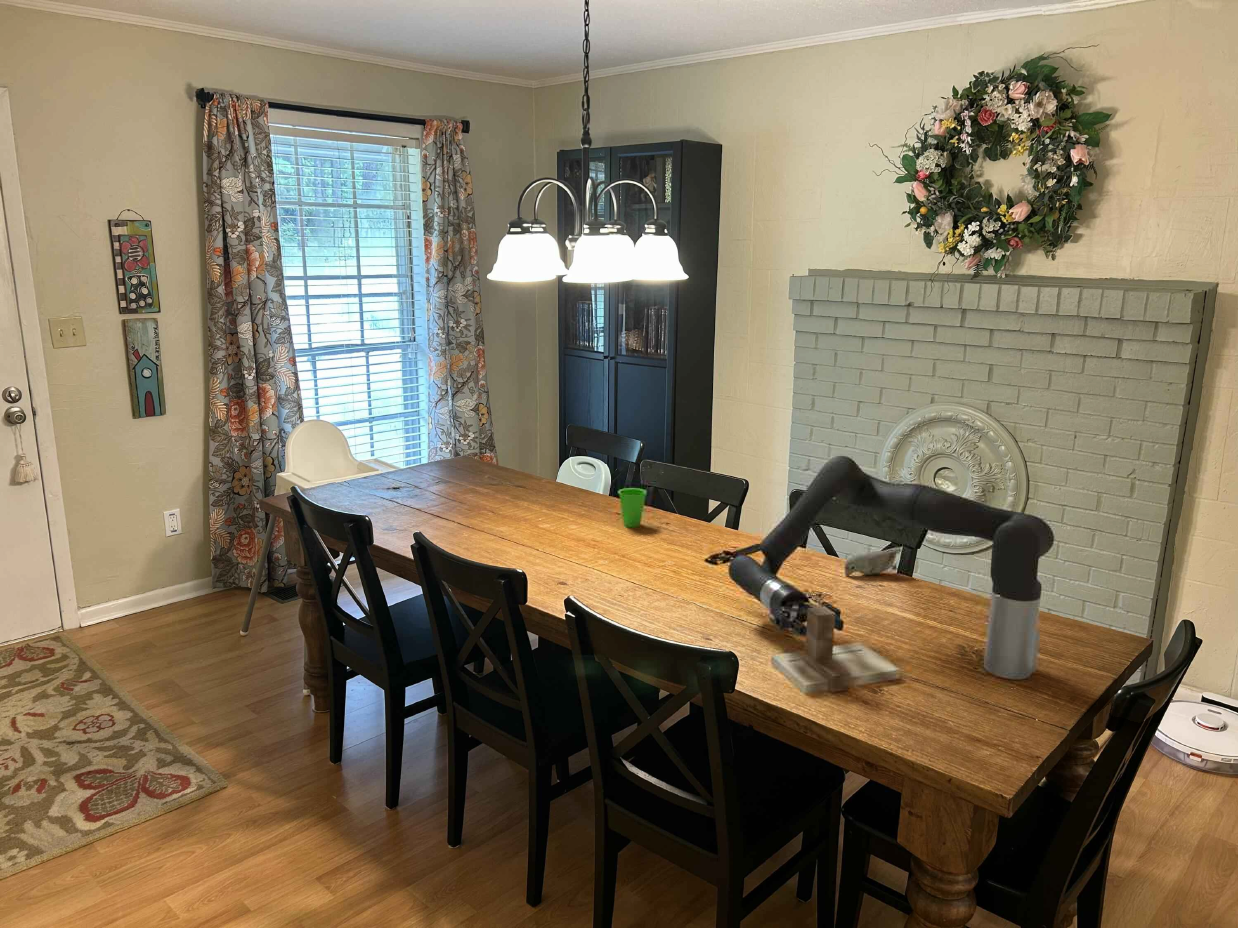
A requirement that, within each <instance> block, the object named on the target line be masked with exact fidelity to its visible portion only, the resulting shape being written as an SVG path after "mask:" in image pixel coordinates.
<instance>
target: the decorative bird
mask: <svg viewBox="0 0 1238 928" xmlns="http://www.w3.org/2000/svg"><path fill="white" fill-rule="evenodd" d="M902 551H903V550H902V547H901V546H899V547H893V548H889V549H888V548H887V549H885V550H877V551H870V552H866V553H863V554H856V555H854V554H853V555H851V556H850V557H849V558H847V560H846V562H845V564H844V575H845V577H849V576H850V575H852V574H854V573H856V572H857V573H860V574H862V575H865V576H868V575H875V574H881V573H883V572H886V571H888V570H890V569H891V570H892V571H894V572H896V573H897V574H901V572H902V567H903V565H900V567H899V569H898V568H897V564H898V562H896V563H895V561H896V558H897V554H900V553H901V552H902Z"/></svg>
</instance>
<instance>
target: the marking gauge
mask: <svg viewBox="0 0 1238 928" xmlns="http://www.w3.org/2000/svg"><path fill="white" fill-rule="evenodd" d="M834 625H835V613H834V612H833V611H831V610H830V609H828V608H827V607H825V606H822V607H814V608H808V612H807V622H806V627H807V631H806V636H805V643H804V645H805V646H804V648H805V649H804V650H801V651H802V659H803V660H804V661H806V662H807V663H808V664H809V665H811V666H812V667H813V668H814V669H815V670H817V671H818V672H819V673H820V674H822V675H823V676H824V677H825V678H827V679H828V680H829V683H828V689H829V690H828V691H831V692H832V693H833V692H840V691H846V690H850V689H851V687H850V678H851V673H850V672H849V671H847V670H846V669H845V668H843V667H842V666H841V665H839V664H838V663H837V662H836V661H834V660H833V659H832V653H833V646H834V640H835V639H834V637H835V636H834V635H835V628H834Z"/></svg>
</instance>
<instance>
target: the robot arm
mask: <svg viewBox="0 0 1238 928" xmlns="http://www.w3.org/2000/svg"><path fill="white" fill-rule="evenodd" d="M833 499H834V500H836V501H837V502H839V503H842V504H845V505H848V506H853V507H859V508H862V509H866V510H867V509H868V510H872V511H876V512H879V513H882V514H885V515H886V516H888V517H891V518H894V519H896V520H898V521H901V522H905V523H907V524H910V525H913V526H915V527H917V528H920V529H923V530H926V531H930V532H932V533H937V534H944V535H951V536H959V537H960V536H963V537H970V538H971V537H973V538H978V539H984V540H987V541H989V542H992V545H991V555H990V556H991V558H990V579H991V583H992V589H991V597H990V604H989V605H990V606H989V614H988V616H989V617H988V621H987V622H988V624H987V632H986V640H985V641H986V642H985V650H984V657H983V658H984V660H983V668H984V669H985V671H987V672H988V673H990V674H991V675H993V676H995V677H999V678H1003V679H1007V680H1025V679H1028V678H1029V677H1030V676H1031V675H1032V674H1036V673H1035V672H1036V665H1037V658H1038V651H1039V644H1040V643H1039V642H1040V636H1041V635H1040V633H1041V631H1040V630H1039V628H1038V619H1039V614H1040V613H1039V612H1040V605H1041V604H1040V603H1041V597H1042V591H1043V590H1042V588H1043V587H1042V583H1041V582H1040V580H1038V573H1039V560H1040V558H1041V557H1043V556H1045V555H1046V554H1047V553H1048V552H1049V551H1050V550H1051V549H1052V548H1053V545H1054V542H1055V534H1054V531H1053V530H1052V528H1051V526H1050V525H1049V524H1048V523H1047V522H1046V521H1045V520H1044V519H1042V518H1040V517H1038V516H1036V515H1032V514H1030V513H1024V512H1020V511H1019V512H1018V511H1013V510H1008V509H1003V508H999V507H994V506H990V505H986V504H984V503H981V502H978V501H977V500H972V499H969V498H966V497H964V496H960V495H957V494H954V493H952V492H949V491H945V490H942V489H939V488H936V487H932V486H930V485H925V484H921V483H893V482H888V481H884V480H882V479H881V478H877V477H874V476H872V475H869V474H868V473H866V472H864V471H863V470H862V468H861V467H860V466H859V465H858V463H856V461H854V459H853V458H851V457H849V456H847V455H838V456H833V457H832V458H831V459H829V460H828V461H827V462H826V463H825V464H824V465H823V466H822V467H821V469H820V470H819V472H818V473H817V474H816V475H815V477H814V478H813V480H812V481H811V483H810V484H809V486H807V488H806V489H805V490H804V492H803V494H802V495H801V496H800V498H799V499H798V500H797V501H796V503H795V504H794V506H793V507H792V508H791V509H790V511H789V512H788V513H787V514H786V515H785V516H784V518H783V519H782V520H781V521H780V522H779V523H778V524H777V525H776V526H775V527H773V529H772V530H771V531H770V532H769V533H768V534H767V535H766V537H764V539H762V540H761V542H760V543H759V544H760V545H759V548H760V552H761V554H762V555H763V556H764V558H763V562H762V564H760V563H759V562H758V561H757V560H756V559H754V558H753V557H752V556H750V555H748V554H745V555H740V556H737V557H736V558H732V560H730V563H729V564H728V565H729V566H728V576H729V578H730V579H731V580H732V581H733V582H734V583H735V584H736V585H737V586H739V588H741V589H742V590H743V591H744V592H745V593H747V594H748V595H750V596H753V598H754V599H756V600H757V601H758V602H759V603H761V605H763V606H764V608H766V609H767V610H768V611H769V621H770V622H771V623H772V624H773V625H775V627H776V628H778V629H779V630H780V631H785V630H786V629H788V630H789V631H794V633H796V634H798V635H800V636H801V637H806V631H807V625H805V623H807V612H808V608H814V607H822V606H825V607H827V608H828V609H830V610H831V611H833V612H834V613H835V625H834V630H837V632H842V631H843V629H844V622H845V621H844V620H843V619H841V613H842V610H841V609H839V608H837V607H836V606H834V605H832V604H831V603H829V602H827V601H822V602H821V605H816V604H815V603H811V601H810V600H809V598H808V597H807V594H805V593H804V592H803V591H801V590H800V589H798V588H796V587H795V586H794V585H793V584H791V583H789V582H787V581H786V580H784V579H781V578H780V577H779V576H777V575H778V573H779V571H780V569H781V568H782V566H783V564H784V562H786V560H787V559H788V558H789V557H790V556H792V554H793V553H795V551H796V550H797V549H798V548H799V547H800V546H801V545H802V543H803V542H804V541H805V539H806V538H807V537H808V535H809V533H810V530H811V528H812V527H813V524H814V523H815V520H816V519H817V518H818V515H819V514H820V513H821V511H822V510H823V509H824V508H825V506H827V504H828V503H830V502H831V501H832V500H833Z"/></svg>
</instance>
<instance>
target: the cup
mask: <svg viewBox="0 0 1238 928" xmlns="http://www.w3.org/2000/svg"><path fill="white" fill-rule="evenodd" d="M617 493H618V494H619V501H620V509H621V516H622V521H623V523H622V524H623V525H624V527H626V528H638V527H640V525H641V523H642V522H641V521H642V517H643V510H644V505H645V499H646V495H647V493H648V492H647V490H646V489H643V488H637V487H629V488H622V489H619V490H618V491H617Z"/></svg>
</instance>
